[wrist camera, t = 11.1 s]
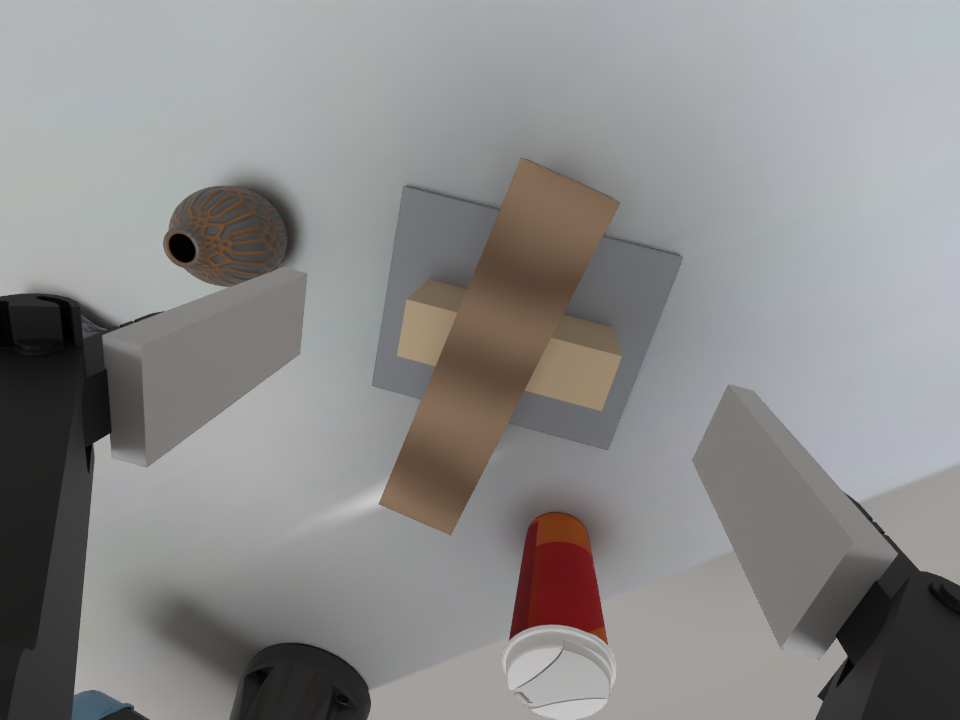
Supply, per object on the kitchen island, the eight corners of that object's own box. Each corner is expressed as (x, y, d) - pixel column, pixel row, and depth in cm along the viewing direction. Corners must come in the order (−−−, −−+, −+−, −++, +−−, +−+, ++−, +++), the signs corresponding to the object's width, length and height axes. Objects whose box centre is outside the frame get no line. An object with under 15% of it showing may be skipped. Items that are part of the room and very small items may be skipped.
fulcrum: (606, 443, 41) (616, 495, 34) (375, 380, 42) (343, 420, 35) (679, 255, 35) (708, 275, 28) (407, 185, 36) (374, 190, 29)
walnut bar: (463, 487, 36) (450, 535, 31) (401, 460, 36) (378, 504, 31) (609, 196, 27) (619, 202, 23) (526, 159, 27) (521, 158, 23)
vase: (285, 290, 40) (217, 322, 32) (208, 249, 40) (119, 270, 32) (313, 211, 37) (246, 224, 29) (230, 166, 37) (139, 167, 29)
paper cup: (548, 581, 47) (545, 738, 34) (498, 526, 46) (476, 668, 33) (618, 547, 45) (644, 702, 32) (568, 487, 43) (574, 625, 30)
